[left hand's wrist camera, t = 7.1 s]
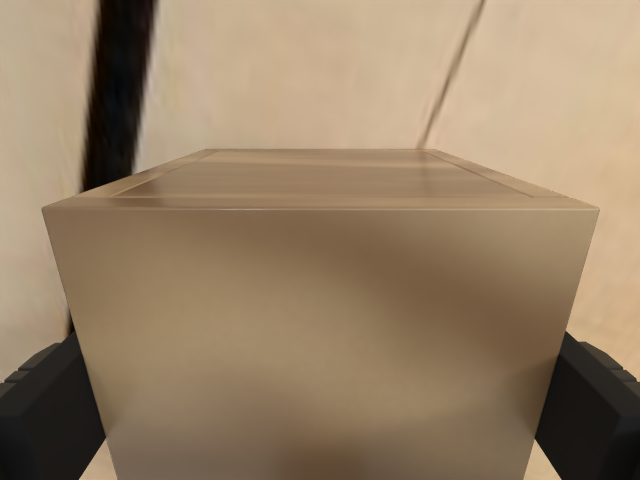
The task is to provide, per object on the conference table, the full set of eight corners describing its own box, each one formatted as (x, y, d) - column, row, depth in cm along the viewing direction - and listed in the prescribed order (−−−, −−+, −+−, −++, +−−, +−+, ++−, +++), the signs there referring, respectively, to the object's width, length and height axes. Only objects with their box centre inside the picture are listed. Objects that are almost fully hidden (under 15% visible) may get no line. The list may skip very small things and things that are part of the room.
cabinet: (407, 406, 23) (477, 644, 13) (233, 405, 23) (163, 643, 13) (436, 149, 17) (602, 207, 7) (204, 148, 17) (39, 207, 7)
